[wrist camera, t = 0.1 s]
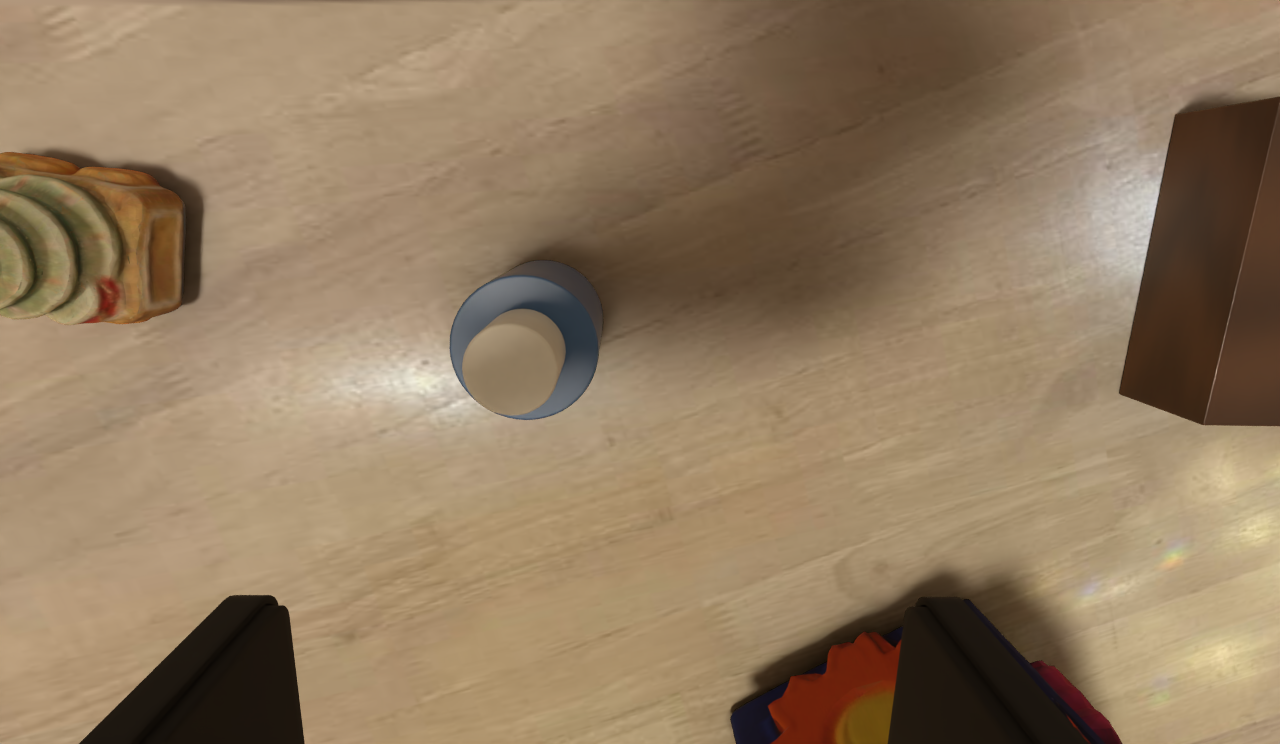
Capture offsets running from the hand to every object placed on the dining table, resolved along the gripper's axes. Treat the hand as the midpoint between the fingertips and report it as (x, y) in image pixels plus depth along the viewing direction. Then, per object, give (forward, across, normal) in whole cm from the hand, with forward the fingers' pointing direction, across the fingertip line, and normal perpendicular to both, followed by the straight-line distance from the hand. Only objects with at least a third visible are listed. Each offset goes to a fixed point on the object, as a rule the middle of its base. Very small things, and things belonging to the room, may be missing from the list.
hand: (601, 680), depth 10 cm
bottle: (+20, +3, -2) cm, 20 cm away
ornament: (+20, +21, -5) cm, 29 cm away
